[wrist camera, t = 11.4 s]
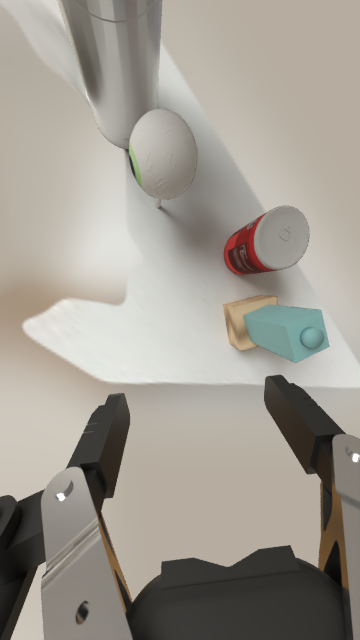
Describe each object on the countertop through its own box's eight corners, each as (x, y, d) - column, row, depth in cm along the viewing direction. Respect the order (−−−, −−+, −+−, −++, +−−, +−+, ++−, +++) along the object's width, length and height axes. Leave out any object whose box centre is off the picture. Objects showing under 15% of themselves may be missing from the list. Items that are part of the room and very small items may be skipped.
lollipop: (129, 188, 30) (111, 92, 15) (170, 176, 30) (191, 74, 16) (145, 234, 31) (143, 186, 17) (184, 221, 32) (215, 165, 17)
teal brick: (242, 315, 31) (292, 328, 21) (268, 304, 32) (329, 310, 21) (251, 341, 32) (302, 366, 22) (275, 330, 33) (337, 348, 22)
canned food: (265, 236, 35) (317, 213, 24) (255, 278, 36) (300, 275, 25) (227, 225, 33) (265, 196, 23) (218, 270, 34) (250, 263, 24)
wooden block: (222, 304, 36) (234, 306, 31) (260, 295, 37) (277, 296, 32) (228, 342, 37) (241, 350, 33) (264, 333, 38) (281, 339, 34)
